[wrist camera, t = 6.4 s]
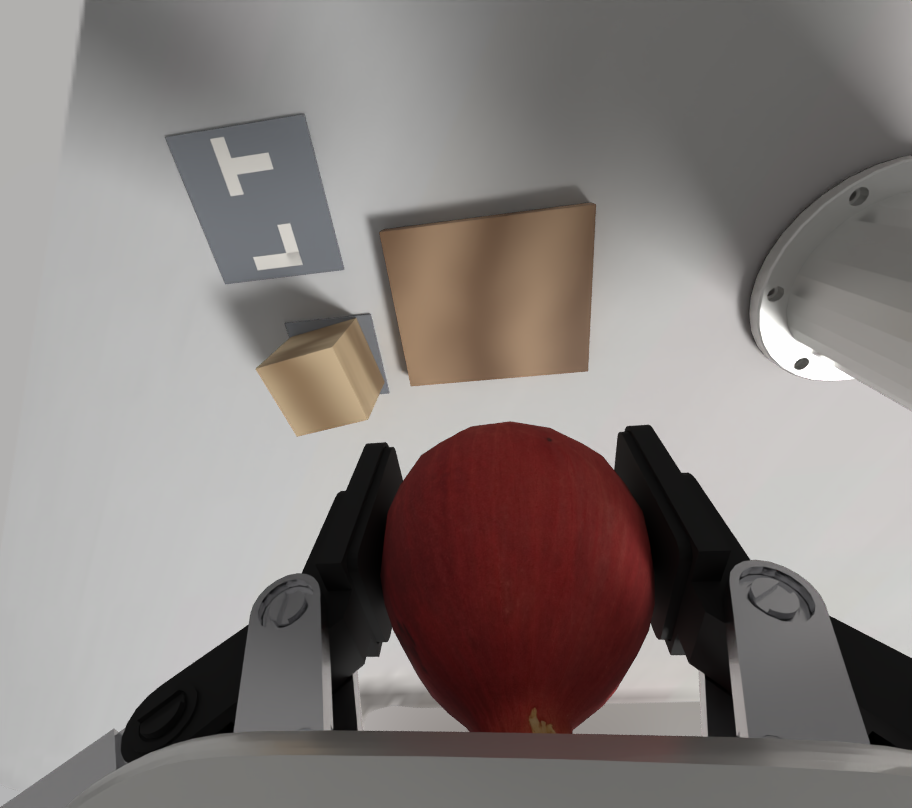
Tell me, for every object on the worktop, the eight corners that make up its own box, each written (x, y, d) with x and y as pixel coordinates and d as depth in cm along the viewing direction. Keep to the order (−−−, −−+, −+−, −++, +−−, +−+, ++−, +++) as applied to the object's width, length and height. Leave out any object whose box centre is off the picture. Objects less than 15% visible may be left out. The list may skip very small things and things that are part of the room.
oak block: (356, 317, 27) (332, 347, 22) (384, 382, 29) (367, 419, 25) (290, 337, 28) (255, 368, 23) (323, 397, 30) (297, 436, 26)
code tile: (305, 114, 21) (303, 114, 21) (344, 269, 25) (343, 270, 25) (167, 137, 22) (164, 137, 22) (227, 283, 26) (225, 284, 26)
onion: (528, 537, 14) (570, 881, 8) (380, 474, 13) (271, 815, 6) (642, 421, 11) (875, 805, 5) (466, 326, 10) (435, 659, 3)
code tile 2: (370, 313, 27) (370, 314, 26) (389, 392, 30) (388, 393, 29) (285, 322, 27) (284, 323, 27) (312, 398, 30) (311, 400, 30)
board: (590, 202, 22) (595, 204, 21) (583, 363, 28) (588, 371, 26) (383, 229, 24) (379, 232, 23) (413, 378, 29) (410, 386, 28)
